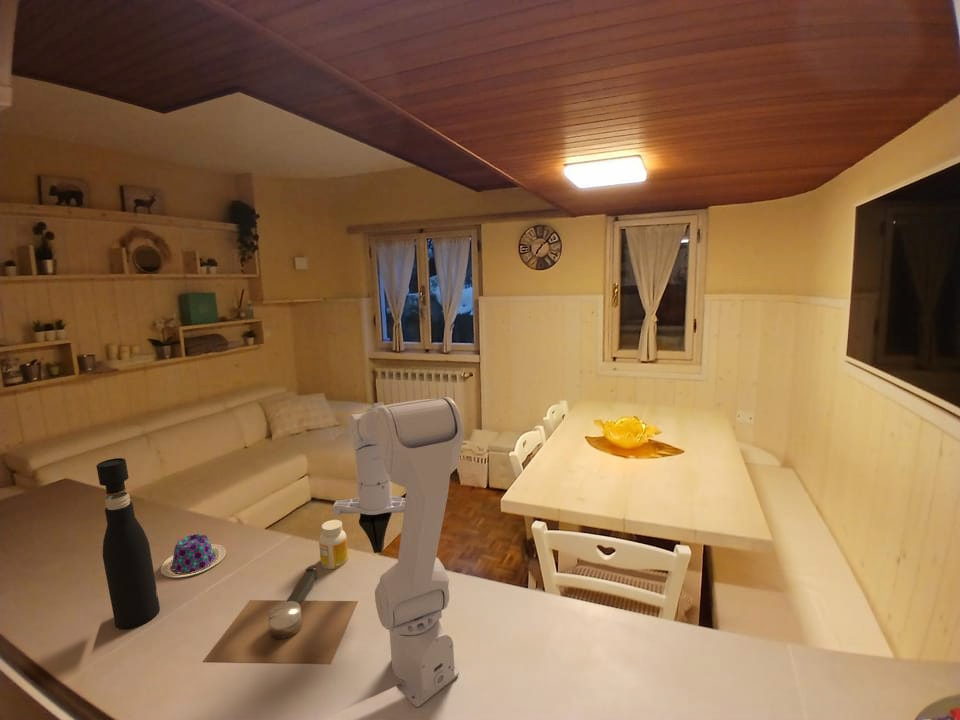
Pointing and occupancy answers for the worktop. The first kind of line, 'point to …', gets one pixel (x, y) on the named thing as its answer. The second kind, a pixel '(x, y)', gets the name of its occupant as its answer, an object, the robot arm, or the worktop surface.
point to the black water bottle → (126, 553)
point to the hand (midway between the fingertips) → (378, 549)
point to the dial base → (307, 646)
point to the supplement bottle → (333, 545)
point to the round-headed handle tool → (291, 608)
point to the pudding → (192, 555)
